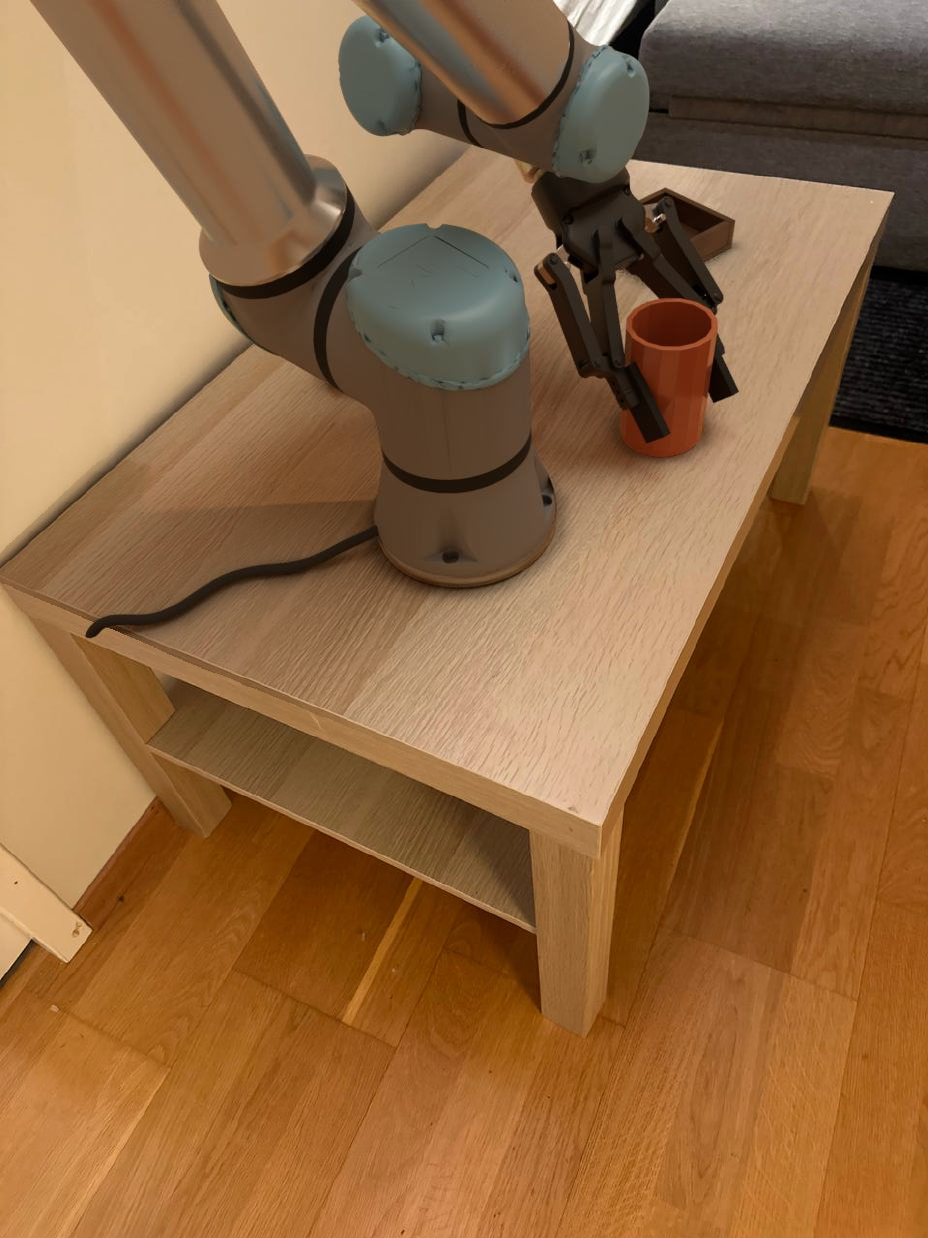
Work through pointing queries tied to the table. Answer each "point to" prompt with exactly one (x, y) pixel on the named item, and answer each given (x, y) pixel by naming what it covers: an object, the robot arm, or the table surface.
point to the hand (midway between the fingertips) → (692, 417)
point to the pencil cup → (671, 370)
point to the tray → (698, 223)
